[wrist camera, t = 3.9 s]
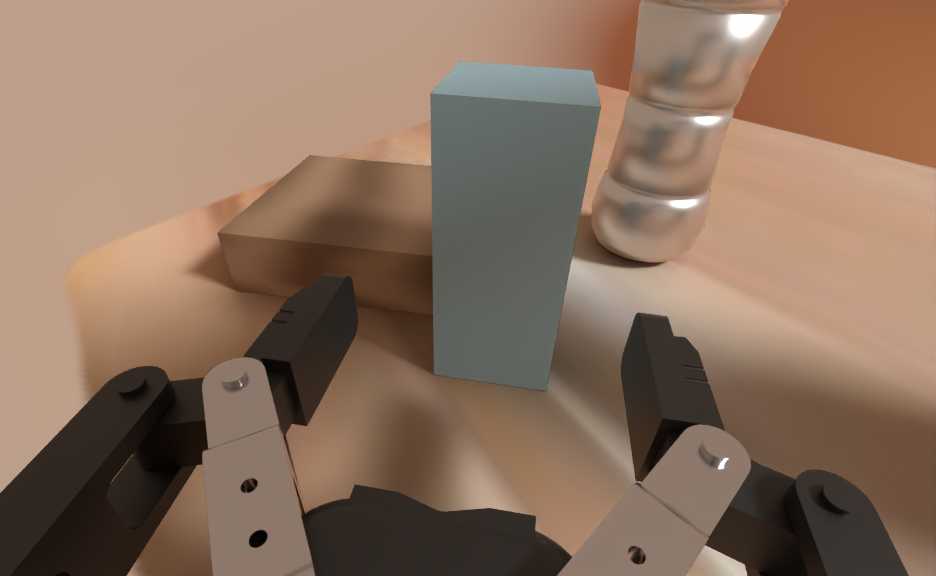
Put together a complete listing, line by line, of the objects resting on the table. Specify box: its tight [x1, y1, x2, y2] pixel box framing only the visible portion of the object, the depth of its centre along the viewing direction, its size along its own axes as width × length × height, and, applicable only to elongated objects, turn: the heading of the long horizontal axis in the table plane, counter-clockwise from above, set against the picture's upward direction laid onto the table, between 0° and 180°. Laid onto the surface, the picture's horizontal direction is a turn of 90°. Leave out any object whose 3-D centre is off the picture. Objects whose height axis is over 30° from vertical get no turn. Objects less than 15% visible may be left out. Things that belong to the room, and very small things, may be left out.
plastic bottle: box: [591, 0, 788, 262], centre depth 25 cm, size 6×7×20 cm
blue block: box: [431, 62, 601, 391], centre depth 19 cm, size 5×5×12 cm
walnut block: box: [217, 155, 433, 315], centre depth 28 cm, size 11×11×4 cm
